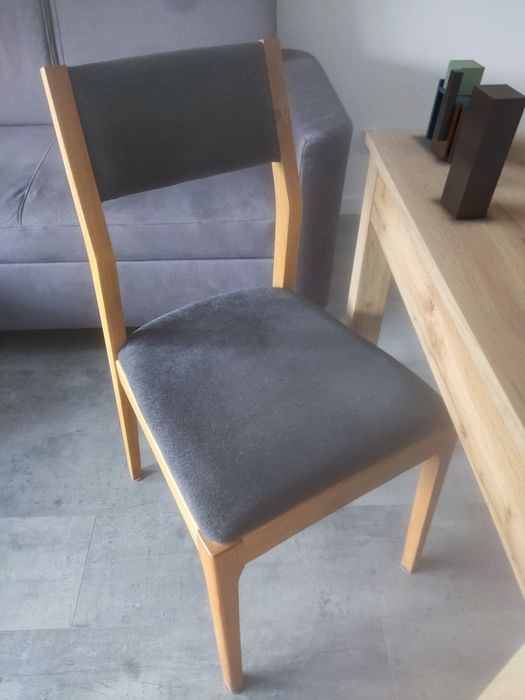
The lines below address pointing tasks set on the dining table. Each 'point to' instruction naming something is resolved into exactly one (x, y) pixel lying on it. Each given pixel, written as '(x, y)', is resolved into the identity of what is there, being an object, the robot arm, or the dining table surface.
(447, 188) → the plinth
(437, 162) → the dining table surface
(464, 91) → the block
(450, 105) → the door
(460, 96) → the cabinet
